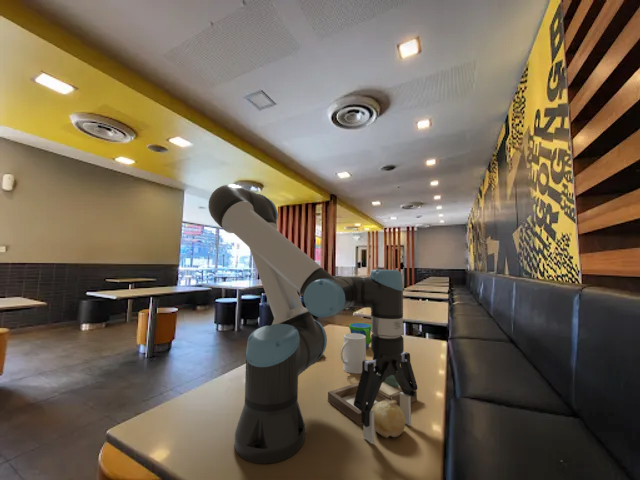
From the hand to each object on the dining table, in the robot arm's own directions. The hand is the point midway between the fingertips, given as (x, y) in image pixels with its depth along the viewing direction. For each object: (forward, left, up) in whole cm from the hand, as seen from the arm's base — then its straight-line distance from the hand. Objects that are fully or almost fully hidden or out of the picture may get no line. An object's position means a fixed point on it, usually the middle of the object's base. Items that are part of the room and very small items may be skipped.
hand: (388, 430), depth 61 cm
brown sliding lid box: (+7, +12, 0) cm, 14 cm away
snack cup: (+37, +51, 0) cm, 63 cm away
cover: (+13, +12, +3) cm, 18 cm away
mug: (+16, +32, 0) cm, 36 cm away
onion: (0, 0, 0) cm, 1 cm away
